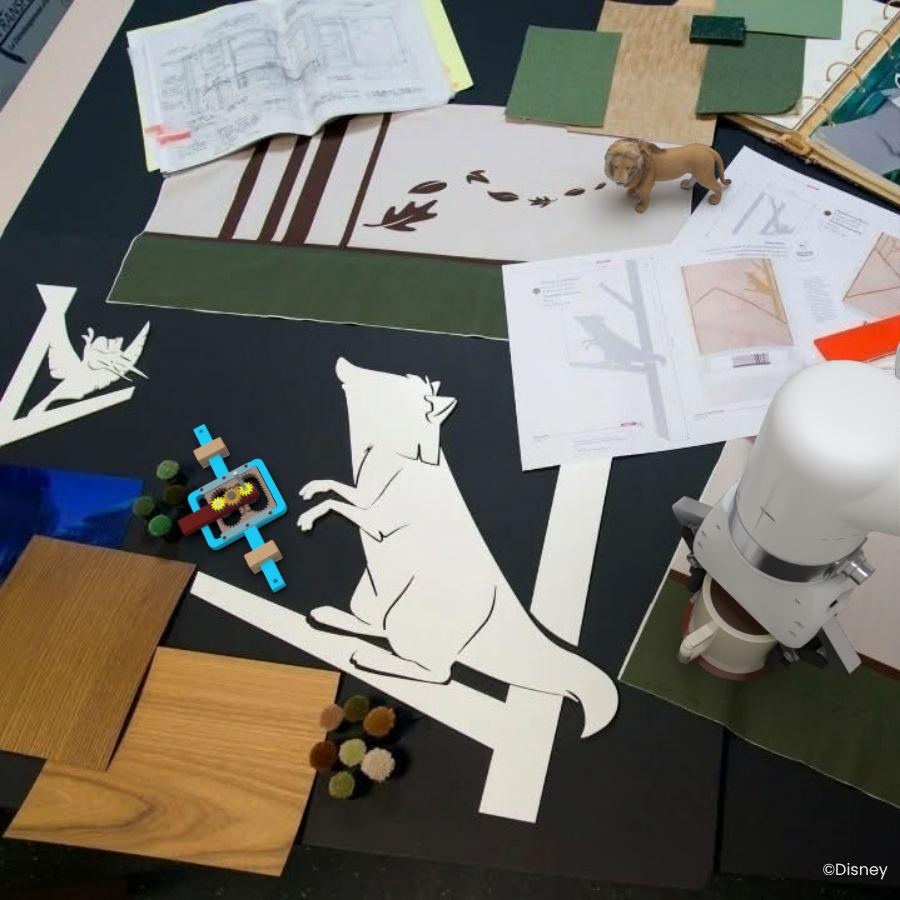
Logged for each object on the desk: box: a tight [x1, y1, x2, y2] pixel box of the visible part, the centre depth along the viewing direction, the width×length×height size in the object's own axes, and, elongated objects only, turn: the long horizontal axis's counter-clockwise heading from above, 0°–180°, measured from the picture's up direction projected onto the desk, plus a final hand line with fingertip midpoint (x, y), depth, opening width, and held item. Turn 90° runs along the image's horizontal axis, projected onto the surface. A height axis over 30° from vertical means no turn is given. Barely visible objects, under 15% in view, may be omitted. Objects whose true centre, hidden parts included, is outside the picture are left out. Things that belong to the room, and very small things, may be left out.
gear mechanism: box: [177, 423, 288, 593], centre depth 80 cm, size 20×5×9 cm
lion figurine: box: [603, 137, 733, 213], centre depth 92 cm, size 15×5×9 cm, turn 100°
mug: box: [676, 572, 780, 674], centre depth 66 cm, size 10×7×8 cm
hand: (740, 616), depth 67 cm, fingers closed on mug, 7 cm apart
